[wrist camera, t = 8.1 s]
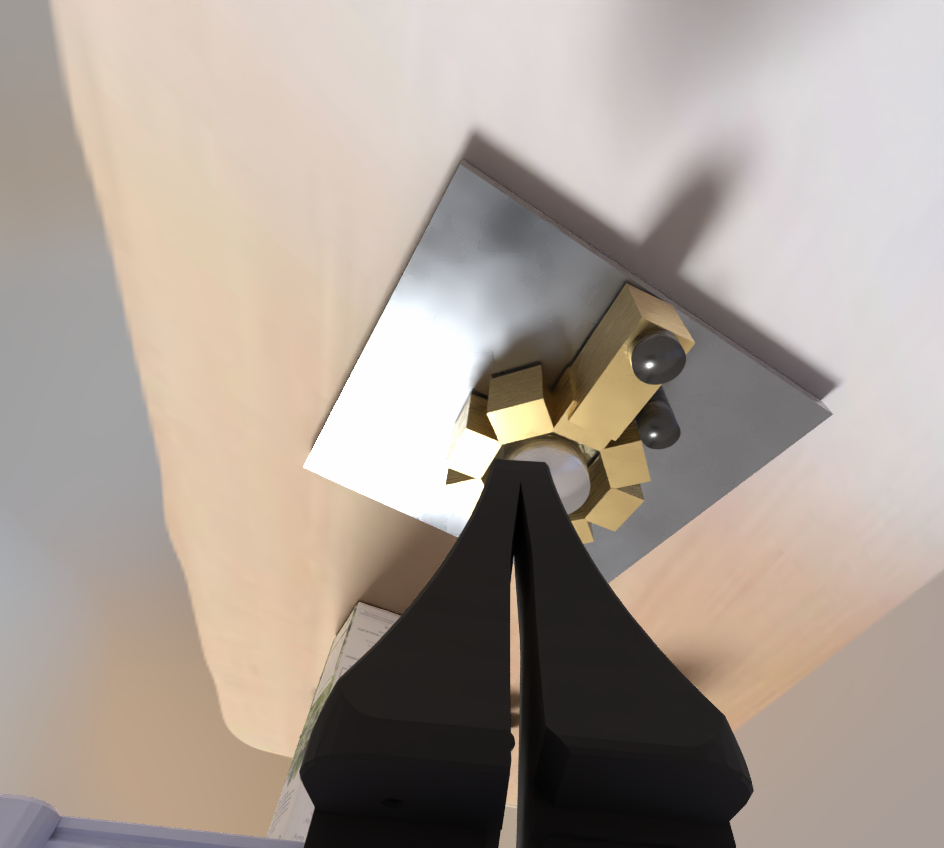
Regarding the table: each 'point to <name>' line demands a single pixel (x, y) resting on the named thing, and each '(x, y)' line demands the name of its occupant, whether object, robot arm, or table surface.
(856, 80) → the table surface
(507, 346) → the grey metal base plate
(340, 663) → the syrup box
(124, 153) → the table surface
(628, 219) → the table surface
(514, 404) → the brass block wheel
